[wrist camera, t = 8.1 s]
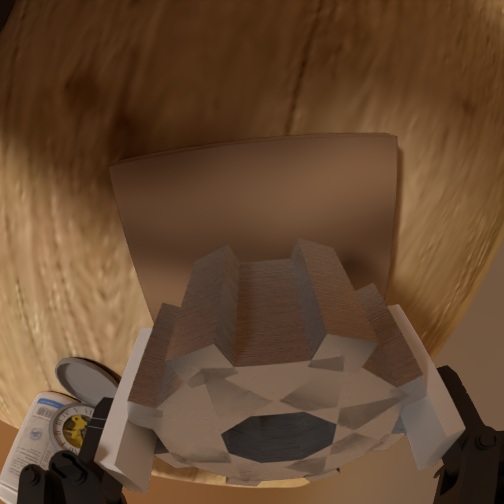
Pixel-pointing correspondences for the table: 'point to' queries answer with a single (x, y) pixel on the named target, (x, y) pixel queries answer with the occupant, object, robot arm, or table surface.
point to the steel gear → (274, 370)
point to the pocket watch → (88, 392)
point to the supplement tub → (32, 442)
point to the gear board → (258, 205)
